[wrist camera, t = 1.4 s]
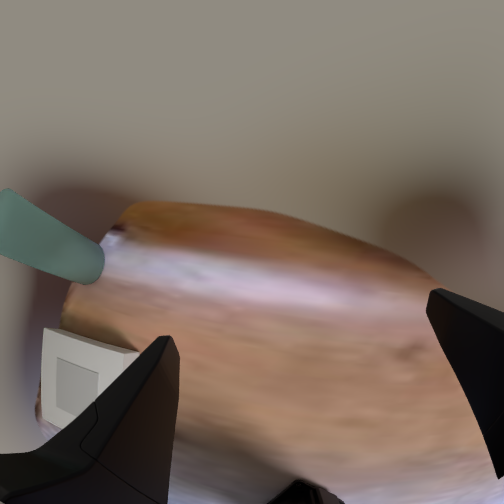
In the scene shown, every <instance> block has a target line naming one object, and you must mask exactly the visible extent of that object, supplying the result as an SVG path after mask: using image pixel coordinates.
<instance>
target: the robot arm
mask: <svg viewBox="0 0 504 504" xmlns="http://www.w3.org/2000/svg"><path fill="white" fill-rule="evenodd" d="M426 314H427V317H428V319H429V321H430V323H431V325H432V327H433V330H434V332H435V334H436V336H437V339H438V341H439V343H440V346H441V348H442V350H443V352H444V353H445V355H446V357H447V359H448V361H449V363H450V365H451V367H452V369H453V370H454V372H455V374H456V376H457V378H458V380H459V382H460V384H461V387H462V389H463V391H464V393H465V395H466V397H467V399H468V401H469V404H470V406H471V408H472V410H473V413H474V415H475V417H476V420H477V422H478V425H479V427H480V429H481V432H482V435H483V437H484V440H485V443H486V445H487V448H488V451H489V454H490V457H491V460H492V463H493V466H494V469H495V472H496V475H497V478H498V479H500V478H501V477H503V476H504V312H501V311H499V310H496V309H494V308H491V307H489V306H486V305H484V304H481V303H479V302H476V301H474V300H471V299H468V298H466V297H463V296H461V295H458V294H455V293H453V292H450V291H448V290H445V289H442V288H437V289H434V290H432V291H431V292H430V294H429V298H428V303H427V307H426ZM179 370H180V356H179V352H178V350H177V348H176V345H175V343H174V340H173V338H172V337H171V336H170V335H167V336H159V337H158V338H157V339H156V340H155V341H154V342H152V343H151V344H150V345H149V346H148V347H147V348H146V349H145V350H144V351H143V352H142V353H141V354H140V355H139V356H138V357H137V358H136V359H135V360H134V361H133V362H132V363H131V364H130V365H129V366H128V367H127V368H126V369H125V370H124V371H123V372H122V373H121V374H120V375H119V376H118V377H117V378H116V379H115V380H114V381H113V382H112V383H111V384H110V385H109V386H108V387H107V388H106V389H105V390H104V391H103V392H102V393H101V394H100V395H99V396H98V397H97V398H96V399H95V401H93V402H92V403H91V404H90V405H89V406H88V407H87V408H86V409H85V410H84V411H83V412H82V413H81V414H80V415H79V416H77V417H76V418H75V419H74V420H73V421H72V422H71V423H69V424H68V425H67V426H66V427H65V428H64V429H62V430H61V431H60V432H59V433H57V434H56V435H55V436H54V437H52V438H51V439H50V440H49V441H48V442H46V443H45V444H44V445H43V446H41V447H40V448H38V449H36V450H33V451H30V452H25V453H12V454H0V504H167V502H168V489H169V478H170V468H171V458H172V449H173V441H174V432H175V424H176V417H177V409H178V401H179ZM296 484H300V485H298V486H297V485H296ZM267 504H345V503H344V502H343V501H342V500H340V499H338V498H337V496H336V495H334V494H332V493H330V492H328V491H326V490H324V489H322V488H320V487H313V486H311V485H310V484H308V483H306V482H304V481H302V480H296V481H294V482H293V483H292V484H291V485H289V486H288V487H287V488H286V489H285V490H284V491H282V492H281V493H280V494H279V495H277V496H276V497H275V498H274V499H272V500H271V501H270V502H269V503H267Z"/></svg>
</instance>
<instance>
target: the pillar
mask: <svg viewBox="0 0 504 504" xmlns="http://www.w3.org/2000/svg"><path fill="white" fill-rule="evenodd" d="M0 254H1V255H3V256H6V257H8V258H11V259H13V260H16V261H18V262H21V263H24V264H26V265H29V266H31V267H34V268H37V269H39V270H42V271H45V272H48V273H50V274H53V275H56V276H59V277H62V278H65V279H68V280H71V281H74V282H77V283H80V284H83V285H88V284H91V283H93V282H95V281H96V280H97V279H98V277H99V276H100V275H101V273H102V270H103V267H104V260H105V259H104V253H103V250H102V248H101V247H100V246H99V245H98V244H97V243H95V242H93V241H91V240H89V239H88V238H86V237H84V236H83V235H81V234H80V233H78V232H76V231H75V230H73V229H71V228H70V227H68V226H67V225H65V224H63V223H62V222H60V221H58V220H57V219H55V218H54V217H52V216H50V215H49V214H47V213H46V212H44V211H43V210H41V209H40V208H38V207H36V206H35V205H33V204H32V203H30V202H29V201H27V200H26V199H24V198H23V197H22V196H20V195H18V194H17V193H16V192H14V191H13V190H11V189H9V188H8V189H4V190H2V191H1V192H0Z"/></svg>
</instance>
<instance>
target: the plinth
mask: <svg viewBox="0 0 504 504" xmlns="http://www.w3.org/2000/svg"><path fill="white" fill-rule="evenodd" d="M138 356H139V352H137V351H133V350H129V349H125V348H121V347H117V346H114V345H110V344H107V343H103V342H100V341H96V340H93V339H90V338H87V337H83V336H80V335H77V334H74V333H71V332H68V331H65V330H62V329H52V328H44V332H43V345H42V364H41V402H42V418H43V419H45V420H46V421H48V422H50V423H52V424H53V425H55V426H57V427H59V428H61V429H64V428H65V427H66V426H67V425H68V424H69V423H71V422H72V421H73V420H74V419H75V418H76V417H77V416H79V415H80V414H81V413H82V412H83V411H84V410H85V409H86V408H87V407H88V406H89V405H90V404H91V403H92V402H93V401H95V399H96V398H97V397H98V396H99V395H100V394H101V393H102V392H103V391H104V390H105V389H106V388H107V387H108V386H109V385H110V384H111V383H112V382H113V381H114V380H115V379H116V378H117V377H118V376H119V375H120V374H121V373H122V372H123V371H124V370H125V369H126V368H127V367H128V366H129V365H130V364H131V363H132V362H133V361H134V360H135V359H136V358H137V357H138Z"/></svg>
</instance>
